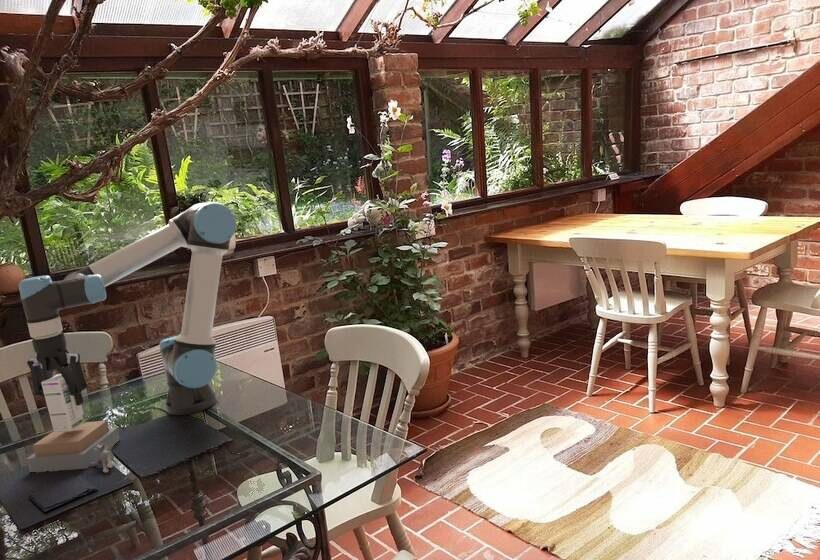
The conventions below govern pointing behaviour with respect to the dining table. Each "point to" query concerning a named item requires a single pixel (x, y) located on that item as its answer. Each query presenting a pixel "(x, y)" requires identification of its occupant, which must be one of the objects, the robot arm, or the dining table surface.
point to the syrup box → (60, 405)
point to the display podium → (71, 447)
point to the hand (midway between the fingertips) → (67, 417)
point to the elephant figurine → (105, 455)
